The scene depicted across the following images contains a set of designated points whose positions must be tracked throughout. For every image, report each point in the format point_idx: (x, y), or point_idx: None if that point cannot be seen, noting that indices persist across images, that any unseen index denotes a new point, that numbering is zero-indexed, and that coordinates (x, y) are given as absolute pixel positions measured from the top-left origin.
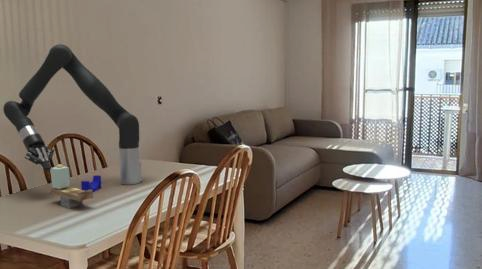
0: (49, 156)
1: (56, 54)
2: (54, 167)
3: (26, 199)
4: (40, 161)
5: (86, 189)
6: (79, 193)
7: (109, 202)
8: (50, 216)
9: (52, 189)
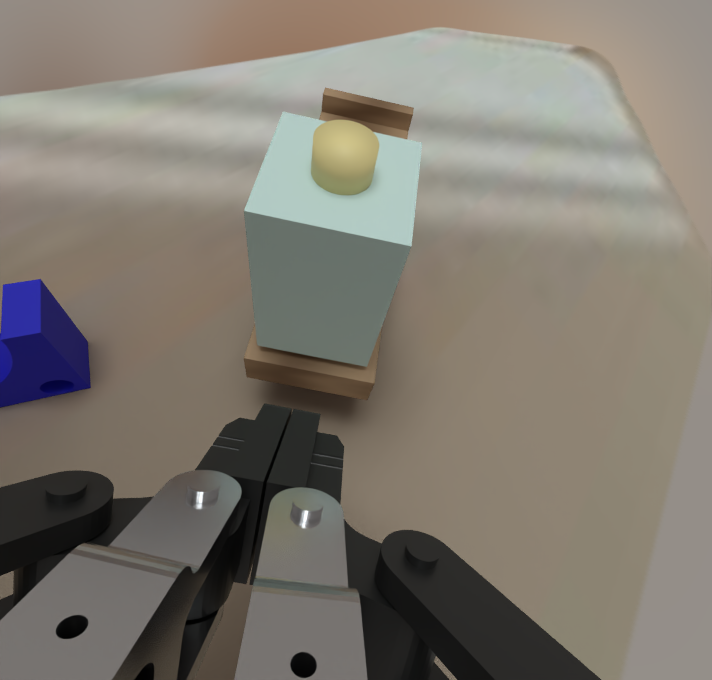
0: (25, 532)
1: None
2: (363, 228)
3: None
4: (367, 545)
5: (71, 330)
6: (408, 109)
7: (213, 160)
8: (512, 251)
9: (377, 355)
